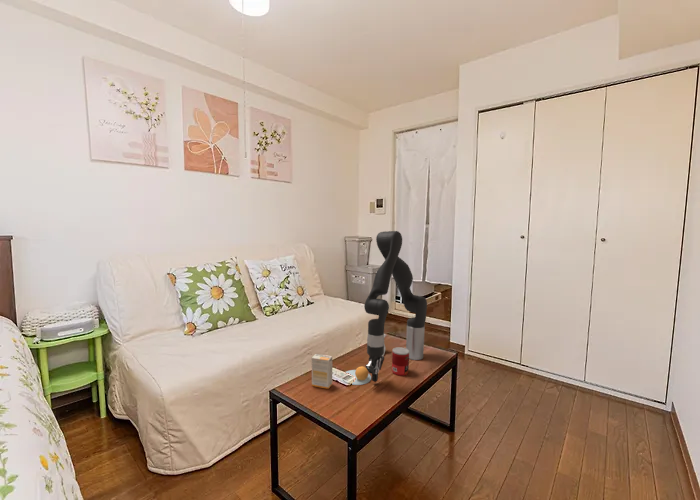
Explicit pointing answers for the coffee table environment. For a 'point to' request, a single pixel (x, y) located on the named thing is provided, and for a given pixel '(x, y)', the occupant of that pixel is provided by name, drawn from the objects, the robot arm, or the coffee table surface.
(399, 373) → the canned food
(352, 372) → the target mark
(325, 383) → the supplement box
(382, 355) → the seated beast figurine
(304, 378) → the coffee table surface
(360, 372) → the ball
